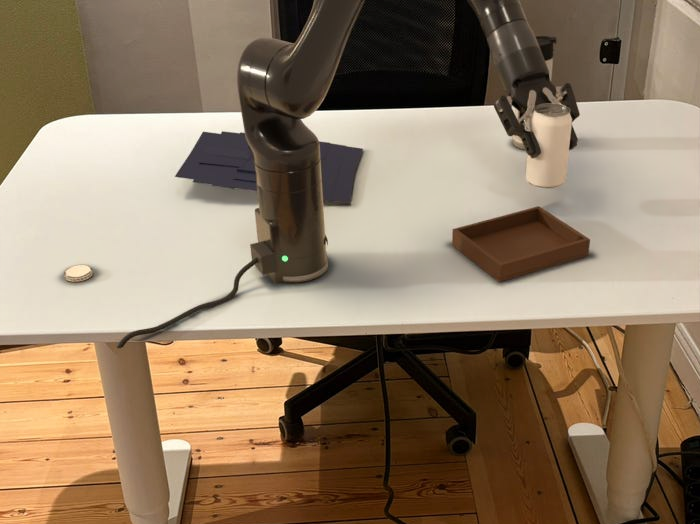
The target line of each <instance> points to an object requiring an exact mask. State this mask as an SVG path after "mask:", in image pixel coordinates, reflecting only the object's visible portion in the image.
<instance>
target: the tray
mask: <svg viewBox="0 0 700 524" xmlns="http://www.w3.org/2000/svg"><path fill="white" fill-rule="evenodd" d="M590 244H591V239H590V238H589V237H588V236H586V235H584V234H583V233H581V232H580V231H579V230H576V229H575V228H574V227H572V226H570V225H569V224H567V223H566V222H564V221H563V220H561V219H560V218H558V217H557V216H555V215H553V214H552V213H550V212H549V211H547V210H546V209H545V208H542V207H541V206H534V207H530V208H527V209H522V210H519V211H515V212H512V213H508V214H504V215H501V216H496V217H493V218H488V219H486V220H481V221H478V222H474V223H471V224H466V225H464V226H458V227H455V228H452V240H451V246H453V248H455V249H456V250H458V251H459V252H460V253H462V254H463V255H464V256H465V257H467V259H469V260H470V261H472V262H473V263H474V264H476V265H477V266H478V267H479V268H480V269H482V270H483V271H484V272H486V273H487V274H489V276H491V278H493V279H495V280H496V281H497V282H498V283H501V282H504V281H509V280H512V279H516V278H519V277H521V276H525V275H528V274H531V273H536V272H538V271H541V270H545V269H548V268H551V267H554V266H558V265H561V264H565V263H568V262H571V261H576V260H578V259H582V258H585V257H588V256H589V253H590V246H591V245H590Z"/></svg>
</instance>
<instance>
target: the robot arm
mask: <svg viewBox="0 0 700 524" xmlns="http://www.w3.org/2000/svg"><path fill="white" fill-rule="evenodd" d="M365 2H366V0H313V4H312V7H311V11H310V14H309V16H308V18H307V21H306V23H305V25H304V26H303V28H302V31H301V33H300V34H299V36H298V37H297V39H296V41H295V42H294V43H293V42H289V41H285V40H281V39H278V38H273V37H266V36H265V37H263V36H262V37H258V38H255V39H254V40H252V41H250V42H249V43H248V44H247V45H246V46H245V48H244V49H243V50H242V53H241V55H240V57H239V60H238V65H237V71H236V72H237V73H236V83H237V94H238V100H239V101H238V102H239V106H240V112H241V113H240V114H241V119H242V126H243V133H245V136H246V140H247V142H248V144H249V146H250V148H251V150H252V152H253V157H254V166H255V175H256V185H257V191H256V192H257V203H258V207H256V208H255V209H254V218H255V225H256V226H255V227H256V237H257V242H255V243H250V244H249V246H250V247H249V248H250V257H251V261H250V262H248V263H247V264H245V265H244V266H243V267H242V268H241V269H239V271H238V272H237V273H236V275H235V277H234V280H233V287H232V290H230V291H229V293H228V294H227V295H226V296H224V297H221V298H219V299H216V300H213V301H208V302H205V303H201V304H198V305H197V306H193V308H190V309H188V310H186V311H184V312H182V313H181V314H179V315H177V316H175V317H173V318H171V319H169V320H167V321H165V322H163V323H161V324H158V325H156V326H153V327H148V328H142V329H137V330H134V331H131V332H129V333H127V334H126V335H125V336H124V337H122V339H121V340H120V341H119V342H118V343H117V346H116V348H117V349H122V348H124V346H125V345H126V344H127V343H128V342H129V341H130V340H131V339H133V338H135V337H138V336H142V335H148V334H154V333H157V332H161V331H162V330H164V329H166V328H169V327H170V326H172V325H175V324H176V323H178V322H180V321H182V320H184V319H186V318H187V317H189V316H191V315H193V314H196V313H197V312H199V311H202V310H204V309H209V308H213V307H216V306H220V305H221V304H224V303H226V302H229V301H230V300H232V298H234V296H235V295H236V294H237V293H238V291H239V287H240V281H241V278H242V277H243V276H244V274H245V273H247V271H248V270H250V269H252V267H254V266H255V267H256V269H257V270H258V271H259V272H260V273H261V274H262V275H263V276H266V275H267V277H269V278H270V279H271V280H272V281H273V282H274V284H280V283H303V282H308V281H312V280H313V279H317V278H319V277H320V276H322V275H323V274H325V273H326V272H327V270H328V268H329V260H328V251H327V246H329V240H328V237H327V234H326V223H325V210H324V209H325V208H324V200H323V191H322V175H321V159H320V145H319V139H318V137H317V135H316V134H315V133H314V132H313V131H312V130H311V129H310V128H309V127H308V126H307V125H306V124H305V122H303V119H306V118H308V117H310V116H312V115H313V114H314V113H315V112H316V111H317V110H318V109H319V107H320V106H321V104H322V103H323V102H324V100H325V98H326V96H327V94H328V92H329V89H330V87H331V85H332V82H333V80H334V77H335V75H336V72H337V69H338V67H339V65H340V61H341V59H342V56H343V53H344V51H345V48H346V45H347V43H348V41H349V38H350V36H351V33H352V31H353V28H354V26H355V24H356V22H357V19H358V17H359V15H360V13H361V11H362V9H363V7H364V5H365ZM466 2H467V3H468V4H469V6H470V7H471V9H472V10H473V12H474V14H475V15H476V17H477V19H478V21H479V23H480V27H481V29H482V31H483V34H484V36H485V39H486V41H487V45H488V48H489V53H490V56H491V58H492V61H493V63H494V66H495V68H496V69H495V70H496V71H497V74H498V76H499V79H500V82H501V84H502V86H503V87H502V88H503V89H504V92H505V93H506V94H507V96H505V95H501V96H500V97H499V98H498V99H497V100H496V101H495V102H494V104H493V108H494V110H495V112H496V114H497V116H498V118H499V120H500V123H501V124H502V127H503V129H504V131H505V132H506V135H507V136H508V137H513V136H514V135H515V136H519V137H520V138H521V140H522V142H523V145H524V147H525V149H526V150H525V153H526V154H527V156H528V155H530V157H531V158H536V157H538V156H539V155H540V154H541V149H540V147H539V144H538V142H537V139H536V137H535V135H534V133H533V131H532V132H531V128H532V124H531V118H532V116H533V113H534V111H535V110H534V108H535V106H537V105H539V104H544V103H557V104H562V105H565V106H567V107H569V108H570V115H571V118H572V123H574V121H575V120H577V119H578V118H579V117H580V115H581V114H580V110H579V106H578V104H577V99H576V97H575V93H574V91H573V87H572V84H570V82H566V83H564V84H563V85H560V86H559V85H558V86H555V85H554V83H553V82H552V80H551V81H550V78H549V70H548V67H547V65H546V62H545V60H544V57H543V55H542V52H541V50H540V47H539V45H538V42H537V39H536V35H535V33H534V31H533V29H532V28H531V26H530V24H529V21H528V19H527V16H526V14H525V11H524V9H523V6H522V4H521V2H520V0H466ZM556 97H557V98H556ZM513 108H514V109H515V108H516V109H517V110H518V120H517V118H516V116H515V111H514V109H513ZM578 142H579V141H578V136H577V134H576V130H575V129H574V126H573V125H572V126H571V136H570V145H569V151H572V150H574V149H575V148H576V147H577V145H578Z"/></svg>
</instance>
